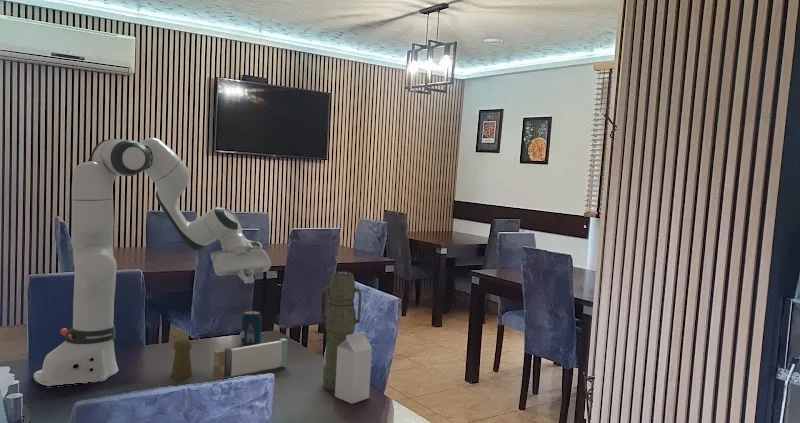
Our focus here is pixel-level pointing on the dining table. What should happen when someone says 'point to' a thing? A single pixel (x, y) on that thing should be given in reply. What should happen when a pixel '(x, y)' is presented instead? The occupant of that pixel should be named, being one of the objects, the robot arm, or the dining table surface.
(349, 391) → the milk carton
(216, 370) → the gate post
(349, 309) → the thermos
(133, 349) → the dining table surface
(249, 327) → the soda can
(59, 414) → the dining table surface
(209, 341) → the dining table surface
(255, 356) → the gate
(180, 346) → the cork
